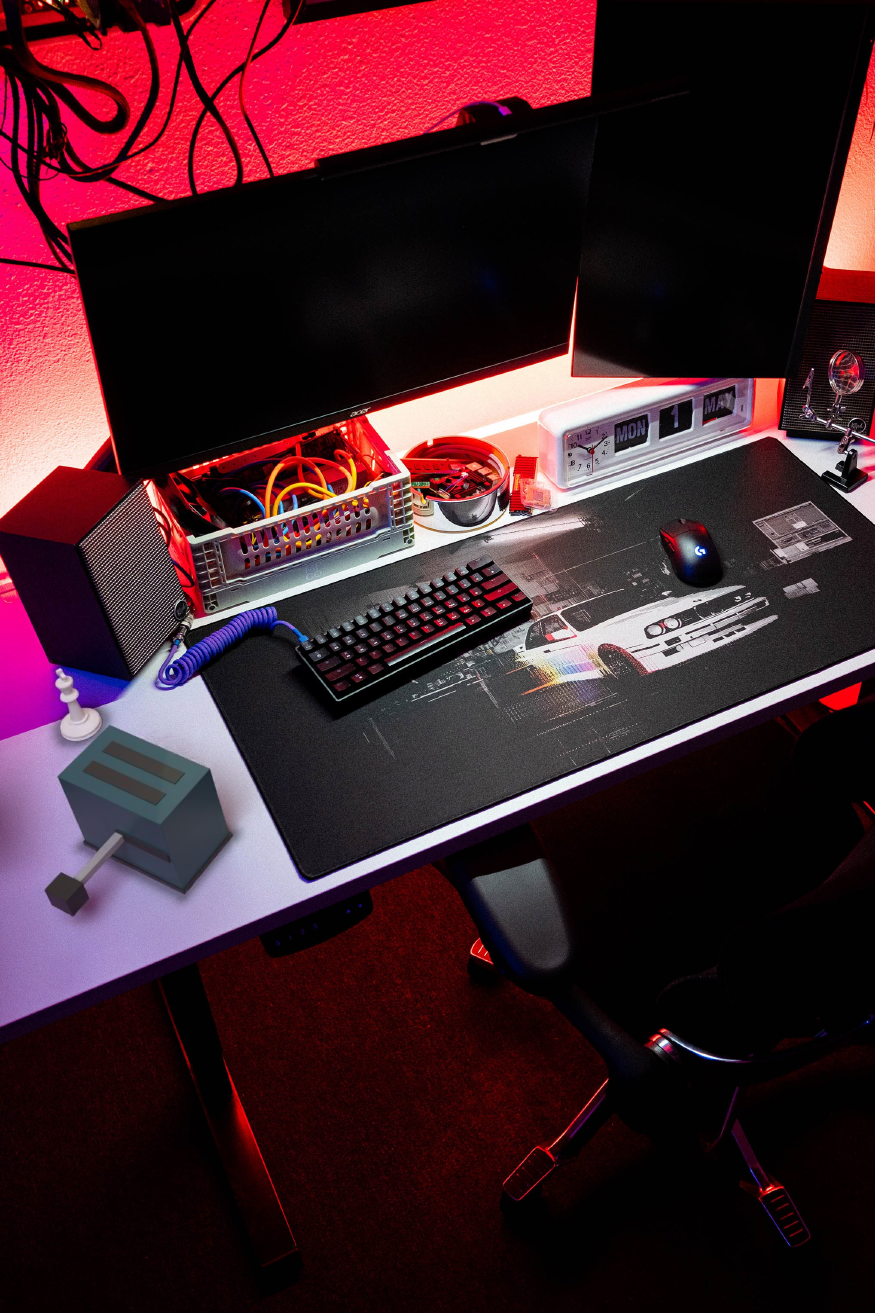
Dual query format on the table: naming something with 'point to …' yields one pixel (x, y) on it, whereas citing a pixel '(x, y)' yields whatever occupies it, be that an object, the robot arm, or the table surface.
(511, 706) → the table surface
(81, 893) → the slider
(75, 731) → the chess piece
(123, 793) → the toaster
